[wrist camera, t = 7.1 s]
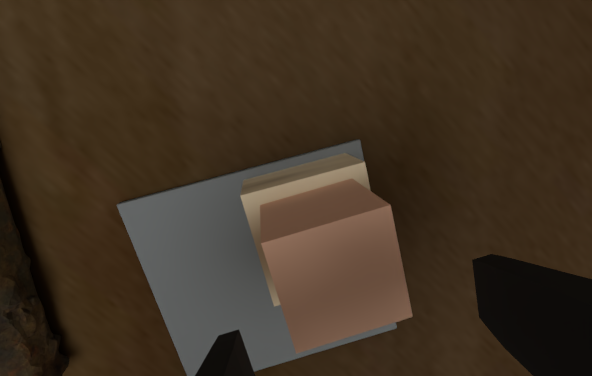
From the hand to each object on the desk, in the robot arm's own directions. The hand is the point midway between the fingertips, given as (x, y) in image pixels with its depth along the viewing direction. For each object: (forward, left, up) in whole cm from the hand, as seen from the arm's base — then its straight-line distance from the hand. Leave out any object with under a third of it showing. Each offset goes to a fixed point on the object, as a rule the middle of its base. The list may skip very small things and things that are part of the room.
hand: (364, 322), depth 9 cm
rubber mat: (-3, +3, -10) cm, 11 cm away
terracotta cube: (0, 0, -6) cm, 6 cm away
